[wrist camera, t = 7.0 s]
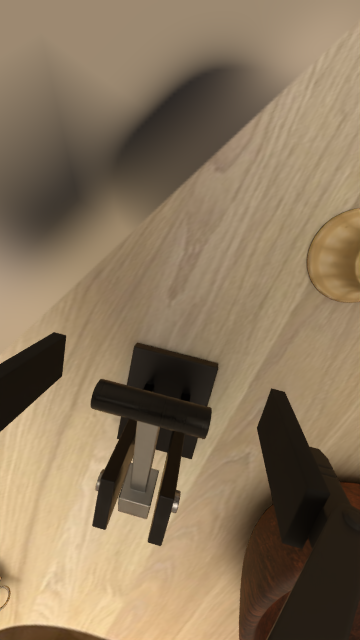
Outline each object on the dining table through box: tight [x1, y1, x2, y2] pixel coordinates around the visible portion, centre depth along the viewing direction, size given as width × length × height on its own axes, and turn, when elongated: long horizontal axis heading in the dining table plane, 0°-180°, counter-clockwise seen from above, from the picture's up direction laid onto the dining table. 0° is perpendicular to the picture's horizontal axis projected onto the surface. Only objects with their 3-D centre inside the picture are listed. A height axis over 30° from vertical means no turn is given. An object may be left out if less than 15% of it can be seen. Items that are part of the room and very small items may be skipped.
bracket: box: [92, 343, 218, 546], centre depth 25 cm, size 12×9×14 cm
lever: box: [91, 379, 212, 519], centre depth 17 cm, size 13×6×2 cm, turn 168°
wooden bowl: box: [239, 482, 360, 640], centre depth 30 cm, size 25×25×10 cm
